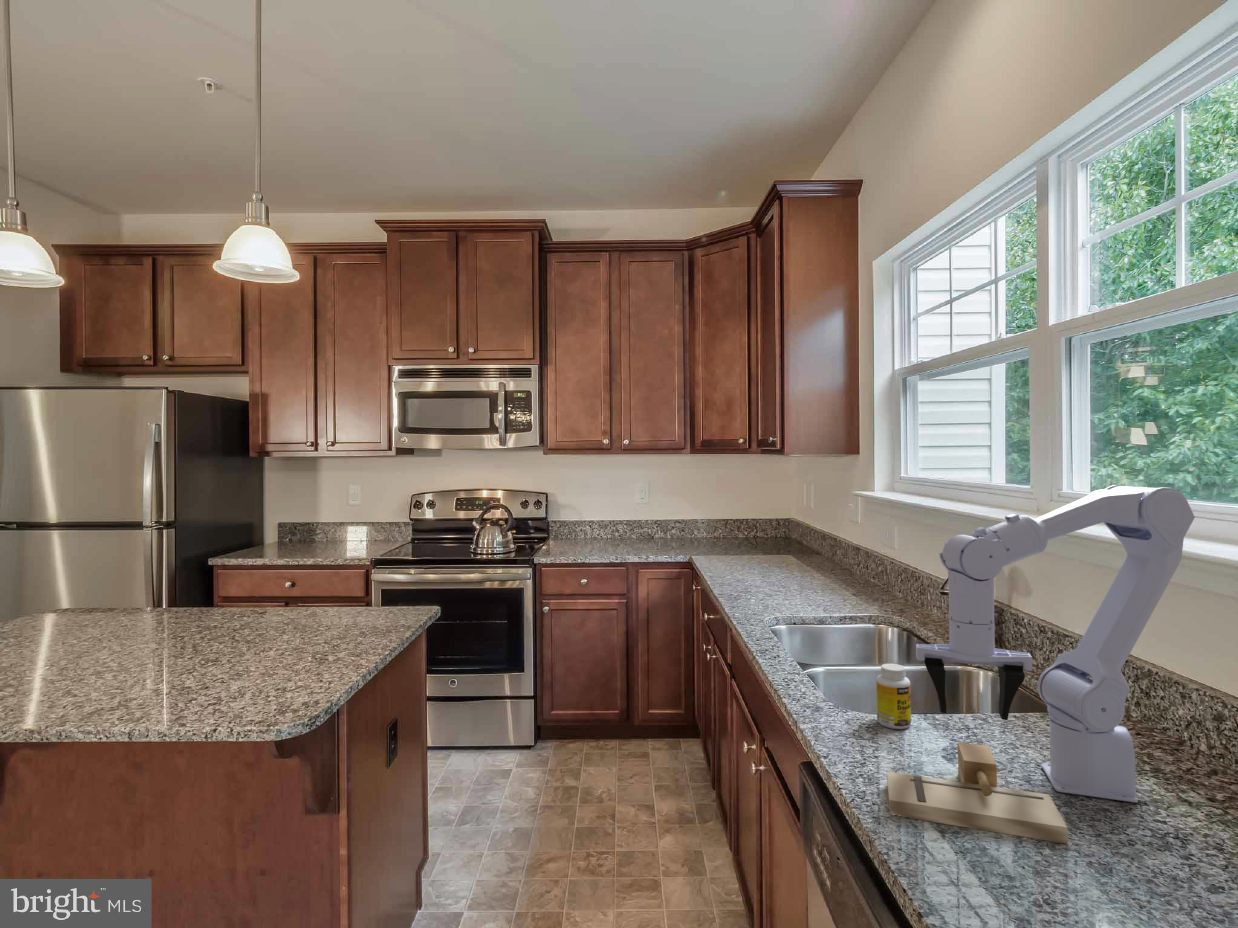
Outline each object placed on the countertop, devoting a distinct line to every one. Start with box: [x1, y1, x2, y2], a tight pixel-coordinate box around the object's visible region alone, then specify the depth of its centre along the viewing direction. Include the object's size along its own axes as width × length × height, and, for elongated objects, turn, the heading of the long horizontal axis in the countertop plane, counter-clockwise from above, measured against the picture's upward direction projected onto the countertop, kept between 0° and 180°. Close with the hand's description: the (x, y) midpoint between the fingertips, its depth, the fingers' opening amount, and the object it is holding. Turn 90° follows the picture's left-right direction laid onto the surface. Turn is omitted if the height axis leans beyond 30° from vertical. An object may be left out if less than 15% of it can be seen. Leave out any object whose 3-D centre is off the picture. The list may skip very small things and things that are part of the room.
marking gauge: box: [957, 742, 998, 796], centre depth 88 cm, size 4×11×5 cm, turn 159°
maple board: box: [886, 771, 1069, 845], centre depth 84 cm, size 20×8×2 cm, turn 69°
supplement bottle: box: [876, 663, 912, 730], centre depth 113 cm, size 6×6×10 cm
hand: (972, 713), depth 91 cm, fingers open, 7 cm apart
